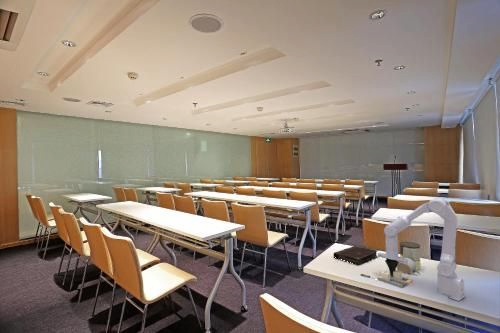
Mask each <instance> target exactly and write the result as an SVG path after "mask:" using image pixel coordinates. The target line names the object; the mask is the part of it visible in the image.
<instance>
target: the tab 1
mask: <svg viewBox="0 0 500 333" xmlns="http://www.w3.org/2000/svg"><path fill="white" fill-rule="evenodd" d="M380 274H381V275H380V276H381V278H382V279H385V280H388V281H390V277H391V276H390V271H389V272H388V270H383V271H382V272H381V273H380Z"/></svg>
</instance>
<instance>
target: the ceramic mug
mask: <svg viewBox="0 0 500 333" xmlns="http://www.w3.org/2000/svg"><path fill="white" fill-rule="evenodd" d="M404 259H407V260H408V264H404V263H401V262H399V263H398V265H397V267H396V270H399V271H400V272H402V274H405V275H412V276H421V272H420V271H418V270H417V269H416V265H415V263H414V261H413V260H411V259H409V258H404ZM415 273H416V274H415Z"/></svg>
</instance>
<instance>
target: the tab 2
mask: <svg viewBox="0 0 500 333" xmlns="http://www.w3.org/2000/svg"><path fill="white" fill-rule="evenodd" d="M402 277H403V273H402V272H400V271H399V270H397V269H396V270H395V271H393V278H397V279H400V280H402Z"/></svg>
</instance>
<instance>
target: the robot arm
mask: <svg viewBox="0 0 500 333" xmlns="http://www.w3.org/2000/svg"><path fill="white" fill-rule="evenodd" d="M425 213H428V214H429V213H434V214H436V215H438V216H439V217H440V218H442V220H443V222H444V223H443V231H442V243H441V244H442V245H441V253H440V258H439V263H438V264H437V266H436V270H437V273H436V274H437V291H438V292H439V293H441V294H443V295H447V296H448V297H447V298H449V299H452V300H454V301H459V302H460V301H461V300H462V299H463V298H465V297H466V295H465V280H464V279H463V278H461V277H459V276H458V275H457V273H456V272H455V270H456V269H457V263H456V260H455V258H456V256H455V251H456V250H455V249H456V238H457V237H456V236H457V228H458V227H457V226H458V216H457V214H456V212H455V210H454V209H453V208H452V206H451V204H450V203H449V202H448V201H447V200H445V199H444V198H442V197H436V198H433V199H431V200H430V201H428V202H425V203H423V204H421V205H419V206H418V207H416V208H415V209H414V210H413V211H412V212H410V213H409V214H407V215H401V216H399V215H398V216H397V217H396V218H397V219H395V220H394V221H391V222H390V223H389V224H388V225H386V226H385V227H384V229H383V232H384V235H385V252H378V253H377V257H378V258H382V259H383V258H384V259H385V261H384V262H385V263H386V266H387V267H388V270H389V273H390V274H392V275H393V271H396V270H397V265H398V263H399V262H401V263H404V264H408V260H407V259H404V258H401V257H400V256H399V240H398V239H399V238H398V234H399V233H401V232H403V231H405V229H407V228H409V227H410V226H411V225H412V221H414V220H415V219H417V218H419V217H420V216H422V215H423V214H425Z"/></svg>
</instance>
